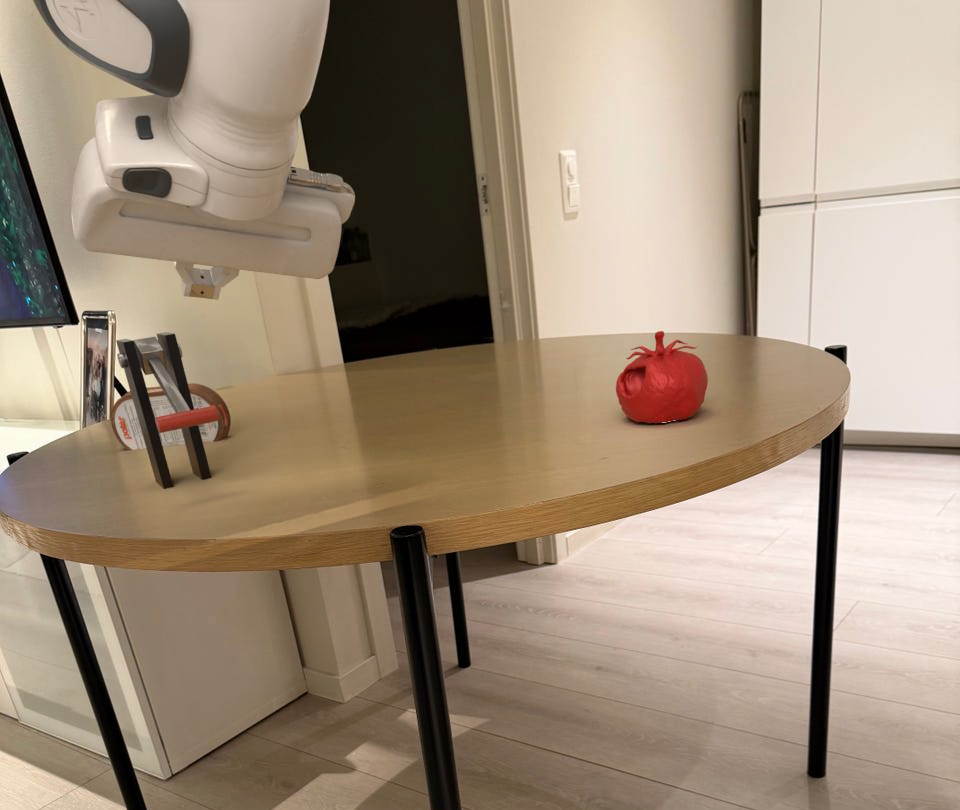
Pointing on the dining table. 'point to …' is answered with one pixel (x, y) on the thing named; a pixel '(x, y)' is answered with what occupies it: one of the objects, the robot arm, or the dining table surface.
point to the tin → (201, 395)
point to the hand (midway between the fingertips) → (199, 292)
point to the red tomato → (662, 384)
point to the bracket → (145, 412)
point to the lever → (170, 389)
